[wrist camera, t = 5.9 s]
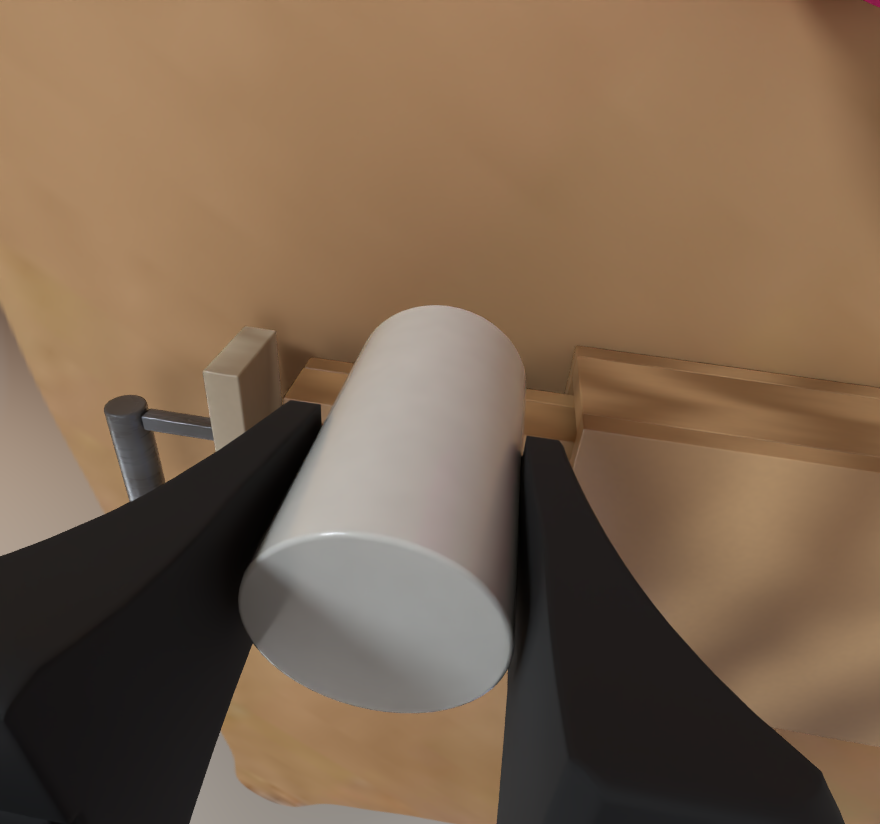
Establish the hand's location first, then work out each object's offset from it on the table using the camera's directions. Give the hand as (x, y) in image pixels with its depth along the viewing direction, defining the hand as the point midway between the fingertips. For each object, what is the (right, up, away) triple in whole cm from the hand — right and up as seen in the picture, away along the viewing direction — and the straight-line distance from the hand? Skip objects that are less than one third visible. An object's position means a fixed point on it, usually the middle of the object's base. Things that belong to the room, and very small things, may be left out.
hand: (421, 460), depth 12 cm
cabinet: (+12, -3, +12) cm, 17 cm away
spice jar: (0, +2, +2) cm, 3 cm away
